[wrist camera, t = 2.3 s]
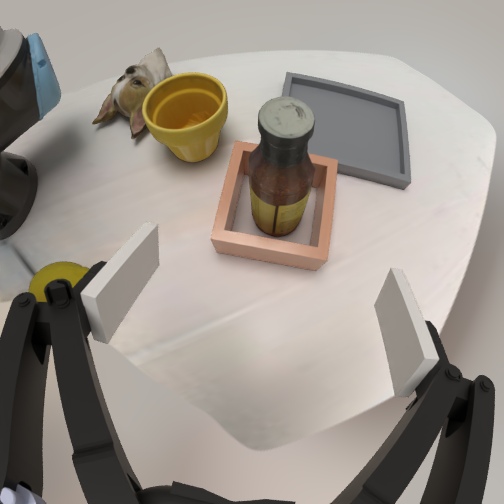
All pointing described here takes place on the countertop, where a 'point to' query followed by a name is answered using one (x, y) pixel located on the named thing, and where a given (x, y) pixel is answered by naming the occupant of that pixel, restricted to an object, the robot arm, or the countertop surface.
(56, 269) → the lemon
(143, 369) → the countertop surface
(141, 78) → the ceramic sculpture
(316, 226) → the terracotta holder
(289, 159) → the sauce bottle
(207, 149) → the plant pot
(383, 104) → the grey tray
